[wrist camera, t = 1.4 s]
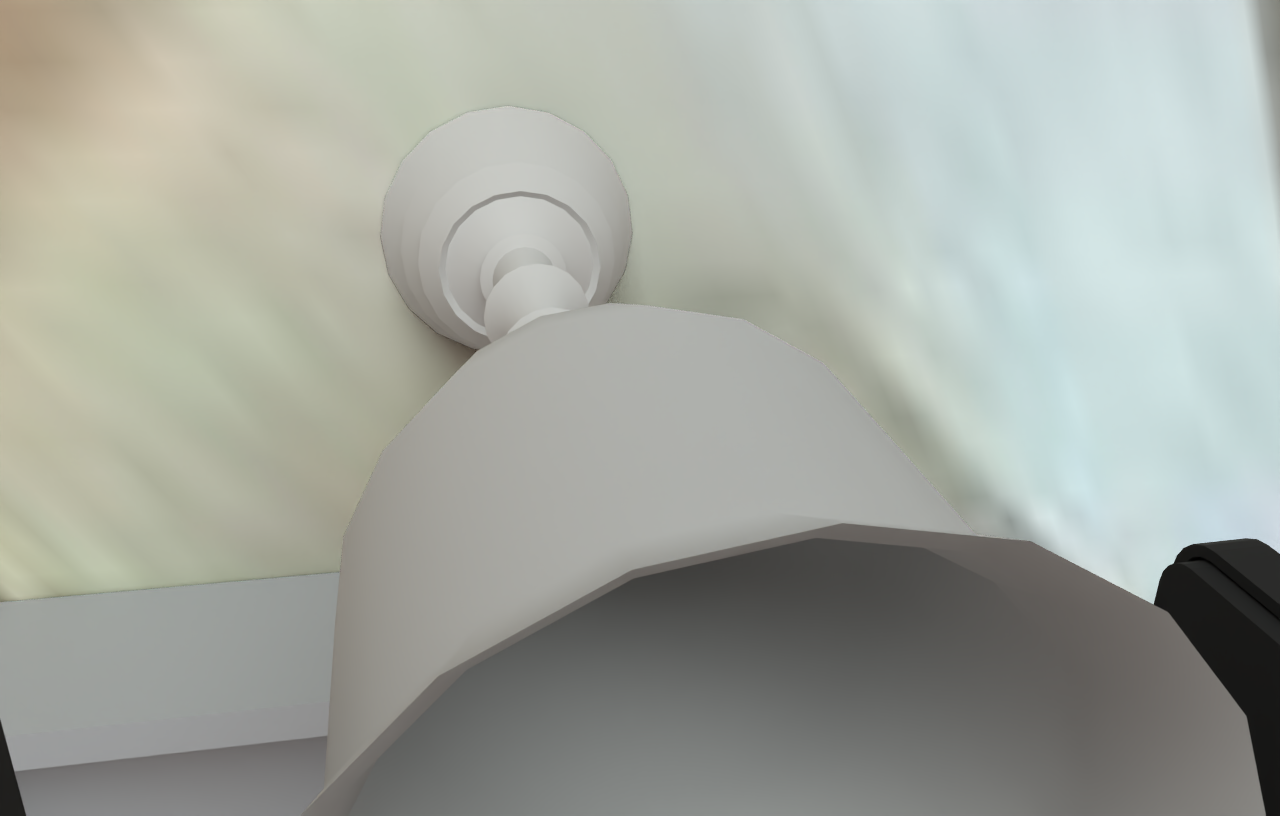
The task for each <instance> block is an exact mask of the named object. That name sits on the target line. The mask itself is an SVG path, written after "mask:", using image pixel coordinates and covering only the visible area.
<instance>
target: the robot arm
mask: <svg viewBox="0 0 1280 816" xmlns="http://www.w3.org/2000/svg"><path fill="white" fill-rule="evenodd" d="M1154 605H1155V606H1157V607H1159V608H1161V609H1163V610H1165V611H1167V612H1168V613H1169V614H1170V615H1171V617H1172V618H1173V619H1174V621H1175V622H1176V623H1177V625H1178V626H1179V627H1180V629H1181V630H1182V631H1183V633H1184V634H1185V635H1186V637H1187V638H1188V639H1189V641H1190V642H1191V643H1192V645H1193V646H1194V647H1195V649H1196V650H1197V651H1198V652H1199V654H1200V655H1201V656H1202V658H1203V659H1204V660H1205V662H1206V663H1207V664H1208V666H1209V667H1210V668H1211V670H1212V671H1213V672H1214V674H1215V675H1216V676H1217V678H1218V679H1219V680H1220V682H1221V683H1222V684H1223V686H1224V687H1225V688H1226V690H1227V691H1228V692H1229V694H1230V695H1231V696H1232V698H1233V699H1234V700H1235V702H1236V703H1237V704H1238V706H1239V707H1240V708H1241V710H1242V711H1243V712H1244V714H1245V715H1246V716H1247V722H1248V727H1249V732H1250V737H1251V742H1252V747H1253V752H1254V757H1255V762H1256V768H1257V773H1258V778H1259V783H1260V788H1261V793H1262V798H1263V803H1264V808H1265V814H1266V816H1280V554H1279V553H1278V552H1276V551H1275V550H1274V549H1272V548H1271V547H1270V546H1268V545H1267V544H1265V543H1263V542H1261V541H1259V540H1257V539H1247V538H1245V539H1236V540H1227V541H1218V542H1209V543H1200V544H1193V545H1190V546H1187V547H1185V548H1184V549H1183V550H1182V551H1181V552H1180V553H1179V554H1178V555H1177V557H1176V559H1175V562H1174V564H1172V565H1169V566H1168V567H1167V568H1166V569H1165V570H1164V571H1163V573H1162V576H1161V578H1160V581H1159V585H1158V589H1157V593H1156V597H1155V601H1154ZM0 816H26V813H25V809H24V805H23V802H22V798H21V794H20V790H19V787H18V783H17V779H16V776H15V772H14V768H13V764H12V761H11V757H10V753H9V750H8V746H7V742H6V738H5V735H4V731H3V727H2V723H1V720H0Z"/></svg>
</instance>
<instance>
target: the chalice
mask: <svg viewBox="0 0 1280 816" xmlns="http://www.w3.org/2000/svg"><path fill="white" fill-rule="evenodd" d="M631 238H632V225H631V217H630V208H629V200H628V194H627V192H626V190H625V188H624V186H623V184H622V181H621V179H620V177H619V175H618V173H617V171H616V169H615V166H614V164H613V162H612V160H611V159H610V158H609V157H608V156H607V155H606V154H605V153H604V152H603V151H602V150H601V148H600V147H599V146H598V145H597V144H596V143H595V142H594V141H593V140H592V139H591V138H590V137H589V136H588V135H587V134H586V133H585V132H584V131H582V130H581V129H579V128H577V127H575V126H573V125H571V124H569V123H567V122H566V121H564V120H562V119H560V118H558V117H556V116H554V115H552V114H551V113H548V112H542V111H536V110H531V109H525V108H519V107H513V106H504V107H497V108H491V109H484V110H478V111H472V112H467V113H465V114H463V115H461V116H459V117H457V118H455V119H453V120H451V121H449V122H447V123H446V124H444V125H442V126H440V127H438V128H436V129H434V130H432V131H430V132H429V133H428V135H427V136H426V137H425V138H424V139H423V140H422V141H421V142H420V143H419V144H418V145H417V146H416V147H415V148H414V149H413V150H412V151H411V152H410V153H409V154H408V155H407V156H406V157H405V158H404V159H403V160H402V162H401V164H400V166H399V169H398V171H397V173H396V175H395V177H394V179H393V181H392V183H391V186H390V188H389V190H388V192H387V194H386V196H385V202H384V210H383V219H382V228H381V241H382V246H383V250H384V255H385V259H386V264H387V269H388V273H389V276H390V278H391V279H392V281H393V283H394V284H395V286H396V288H397V289H398V291H399V293H400V294H401V296H402V298H403V299H404V301H405V303H406V304H407V306H408V308H409V309H410V310H411V311H413V312H414V313H415V314H416V315H417V316H418V317H419V318H421V319H422V320H423V321H424V322H425V323H426V324H427V325H429V326H430V327H431V328H432V329H433V330H434V331H435V332H437V333H438V334H440V335H443V336H445V337H447V338H450V339H452V340H454V341H456V342H459V343H461V344H463V345H466V346H468V347H470V348H473V349H480V350H478V351H476V353H475V354H474V355H473V356H472V357H471V358H470V359H469V360H468V361H467V362H466V363H465V364H464V365H463V366H462V367H461V368H460V369H459V370H458V371H457V372H456V373H455V374H454V375H453V376H452V377H451V378H450V379H449V380H448V381H447V382H446V383H445V384H444V386H443V387H442V388H441V389H440V390H439V391H438V392H437V393H436V394H435V395H434V396H433V397H432V398H431V399H430V401H429V402H428V403H427V404H426V405H425V406H424V407H423V408H422V409H421V410H420V411H419V412H418V413H417V414H416V415H415V417H414V418H413V419H412V420H411V421H410V422H409V423H408V424H407V425H406V426H405V427H404V428H403V429H402V430H401V432H400V433H399V434H398V435H397V436H396V437H395V438H394V439H393V440H392V441H391V442H390V443H389V444H388V445H387V447H386V448H385V449H384V450H383V451H382V453H381V455H380V458H379V460H378V462H377V464H376V466H375V468H374V471H373V473H372V475H371V477H370V479H369V481H368V484H367V486H366V488H365V490H364V492H363V495H362V497H361V499H360V501H359V503H358V505H357V508H356V510H355V512H354V514H353V516H352V518H351V521H350V523H349V525H348V527H347V529H346V531H345V534H344V536H343V545H342V555H341V566H340V576H339V587H338V597H337V607H336V618H335V631H334V646H333V661H332V676H331V690H330V705H329V720H328V735H327V750H326V765H325V780H324V789H323V790H322V791H321V792H320V793H319V794H318V796H317V797H316V798H315V799H314V800H313V801H312V802H311V804H310V805H309V806H308V807H307V808H306V809H305V810H304V812H303V813H302V814H301V815H300V816H1266V814H1265V808H1264V803H1263V798H1262V793H1261V788H1260V783H1259V778H1258V773H1257V768H1256V762H1255V757H1254V752H1253V747H1252V742H1251V737H1250V732H1249V727H1248V722H1247V716H1246V715H1245V714H1244V712H1243V711H1242V710H1241V708H1240V707H1239V706H1238V704H1237V703H1236V702H1235V700H1234V699H1233V698H1232V696H1231V695H1230V694H1229V692H1228V691H1227V690H1226V688H1225V687H1224V686H1223V684H1222V683H1221V682H1220V680H1219V679H1218V678H1217V676H1216V675H1215V674H1214V672H1213V671H1212V670H1211V668H1210V667H1209V666H1208V664H1207V663H1206V662H1205V660H1204V659H1203V658H1202V656H1201V655H1200V654H1199V652H1198V651H1197V650H1196V649H1195V647H1194V646H1193V645H1192V643H1191V642H1190V641H1189V639H1188V638H1187V637H1186V635H1185V634H1184V633H1183V631H1182V630H1181V629H1180V627H1179V626H1178V625H1177V623H1176V622H1175V621H1174V619H1173V618H1172V617H1171V615H1170V614H1169V613H1168V612H1167V611H1165V610H1163V609H1161V608H1159V607H1157V606H1155V605H1153V604H1151V603H1149V602H1147V601H1145V600H1143V599H1141V598H1139V597H1138V596H1136V595H1134V594H1132V593H1130V592H1128V591H1126V590H1124V589H1122V588H1120V587H1118V586H1116V585H1114V584H1112V583H1110V582H1108V581H1107V580H1105V579H1103V578H1101V577H1099V576H1097V575H1095V574H1093V573H1091V572H1089V571H1087V570H1085V569H1083V568H1081V567H1079V566H1077V565H1076V564H1074V563H1072V562H1070V561H1068V560H1066V559H1064V558H1062V557H1060V556H1058V555H1056V554H1054V553H1052V552H1050V551H1048V550H1046V549H1044V548H1043V547H1041V546H1039V545H1037V544H1035V543H1033V542H1031V541H1025V540H1017V539H1010V538H1002V537H994V536H987V535H979V534H976V533H975V532H974V531H973V530H972V529H971V528H970V527H969V525H968V524H967V523H966V522H965V521H964V520H963V519H962V518H961V516H960V515H959V514H958V513H957V512H956V511H955V510H954V509H953V507H952V506H951V505H950V504H949V503H948V502H947V501H946V500H945V498H944V497H943V496H942V495H941V494H940V493H939V492H938V491H937V490H936V488H935V487H934V486H933V485H932V484H931V483H930V482H929V481H928V479H927V478H926V477H925V476H924V475H923V474H922V473H921V472H920V470H919V469H918V468H917V467H916V466H915V465H914V464H913V463H912V461H911V460H910V459H909V458H908V457H907V456H906V455H905V454H904V452H903V451H902V450H901V449H900V448H899V447H898V446H897V445H896V443H895V442H894V441H893V440H892V439H891V438H890V437H889V436H888V434H887V433H886V432H885V431H884V430H883V429H882V428H881V427H880V425H879V424H878V423H877V422H876V421H875V420H874V419H873V418H872V417H871V415H870V414H869V413H868V412H867V411H866V410H865V409H864V408H863V406H862V405H861V404H860V403H859V402H858V401H857V400H856V399H855V397H854V396H853V395H852V394H851V393H850V392H849V391H848V390H847V388H846V387H845V386H844V385H843V384H842V383H841V382H840V381H839V379H838V378H837V377H836V376H835V375H834V374H833V373H832V372H831V370H830V369H829V368H828V367H827V366H826V365H825V364H824V363H823V362H822V361H820V360H818V359H816V358H814V357H812V356H811V355H809V354H807V353H805V352H803V351H801V350H800V349H798V348H796V347H794V346H792V345H790V344H788V343H787V342H785V341H783V340H781V339H779V338H777V337H776V336H774V335H772V334H770V333H768V332H766V331H765V330H763V329H761V328H759V327H757V326H755V325H753V324H752V323H750V322H748V321H746V320H744V319H738V318H731V317H724V316H717V315H710V314H703V313H696V312H689V311H682V310H675V309H668V308H661V307H654V306H647V305H633V304H619V303H607V302H608V300H609V298H610V297H611V295H612V293H613V291H614V289H615V287H616V286H617V284H618V282H619V280H620V278H621V277H622V275H623V273H624V271H625V268H626V263H627V258H628V253H629V248H630V243H631ZM606 303H607V304H606Z"/></svg>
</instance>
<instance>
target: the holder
mask: <svg viewBox="0 0 1280 816" xmlns="http://www.w3.org/2000/svg"><path fill="white" fill-rule="evenodd" d="M339 576H340V572H336V573H325V574H314V575H302V576H291V577H280V578H269V579H257V580H246V581H235V582H223V583H212V584H201V585H190V586H178V587H167V588H156V589H144V590H133V591H122V592H111V593H99V594H88V595H77V596H65V597H54V598H43V599H32V600H20V601H9V602H0V720H1V723H2V727H3V731H4V735H5V738H6V742H7V746H8V750H9V753H10V757H11V761H12V764H13V768H14V772H15V776H16V779H17V783H18V787H19V790H20V794H21V798H22V802H23V805H24V809H25V813H26V816H300V815H301V814H302V813H303V812H304V810H305V809H306V808H307V807H308V806H309V805H310V804H311V802H312V801H313V800H314V799H315V798H316V797H317V796H318V794H319V793H320V792H321V791H322V790H323V789H324V780H325V765H326V750H327V735H328V720H329V705H330V690H331V676H332V661H333V646H334V631H335V618H336V607H337V597H338V587H339Z"/></svg>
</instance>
